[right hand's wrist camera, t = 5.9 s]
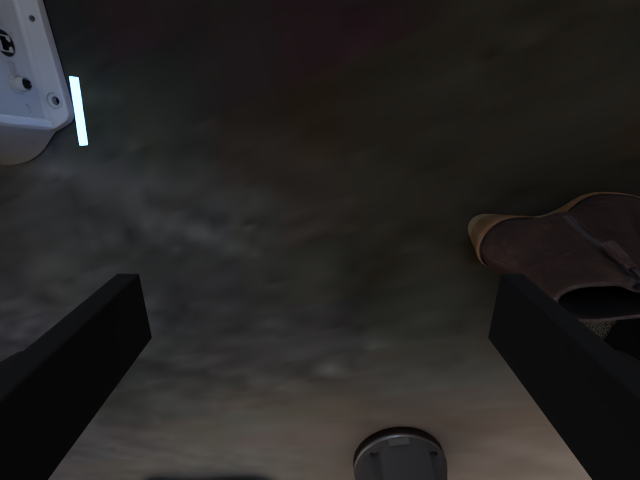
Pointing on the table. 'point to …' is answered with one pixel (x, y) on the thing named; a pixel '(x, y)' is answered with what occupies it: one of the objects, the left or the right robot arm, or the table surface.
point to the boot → (571, 253)
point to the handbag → (626, 337)
